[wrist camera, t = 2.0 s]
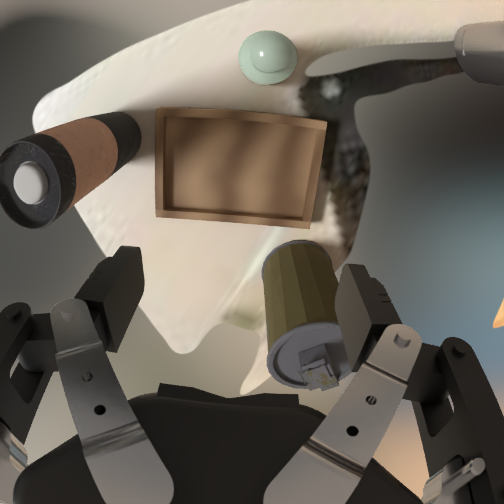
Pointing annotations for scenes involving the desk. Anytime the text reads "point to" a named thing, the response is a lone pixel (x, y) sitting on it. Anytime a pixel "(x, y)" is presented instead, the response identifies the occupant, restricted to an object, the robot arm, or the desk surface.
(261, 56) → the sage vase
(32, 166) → the travel mug
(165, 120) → the walnut tray
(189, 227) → the desk surface
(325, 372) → the canister
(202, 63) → the desk surface
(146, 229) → the desk surface
